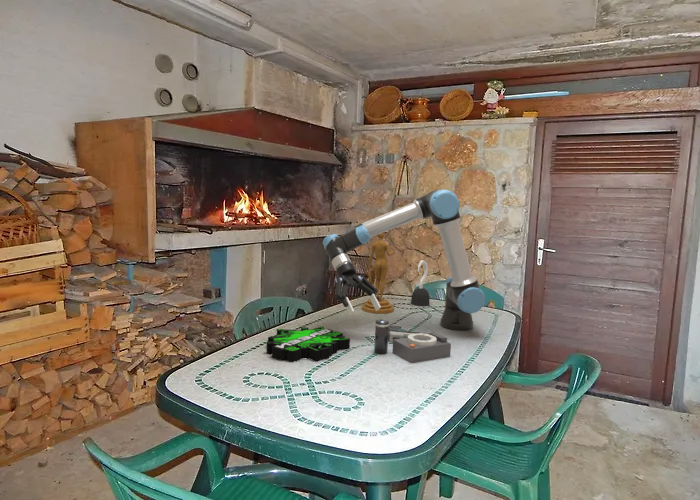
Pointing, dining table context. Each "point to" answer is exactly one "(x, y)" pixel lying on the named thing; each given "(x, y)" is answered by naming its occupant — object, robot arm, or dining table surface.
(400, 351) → the camera body
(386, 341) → the lens
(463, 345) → the dining table surface
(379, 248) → the statue
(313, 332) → the sign
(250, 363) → the dining table surface
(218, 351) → the dining table surface
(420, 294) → the hook
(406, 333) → the handgun
